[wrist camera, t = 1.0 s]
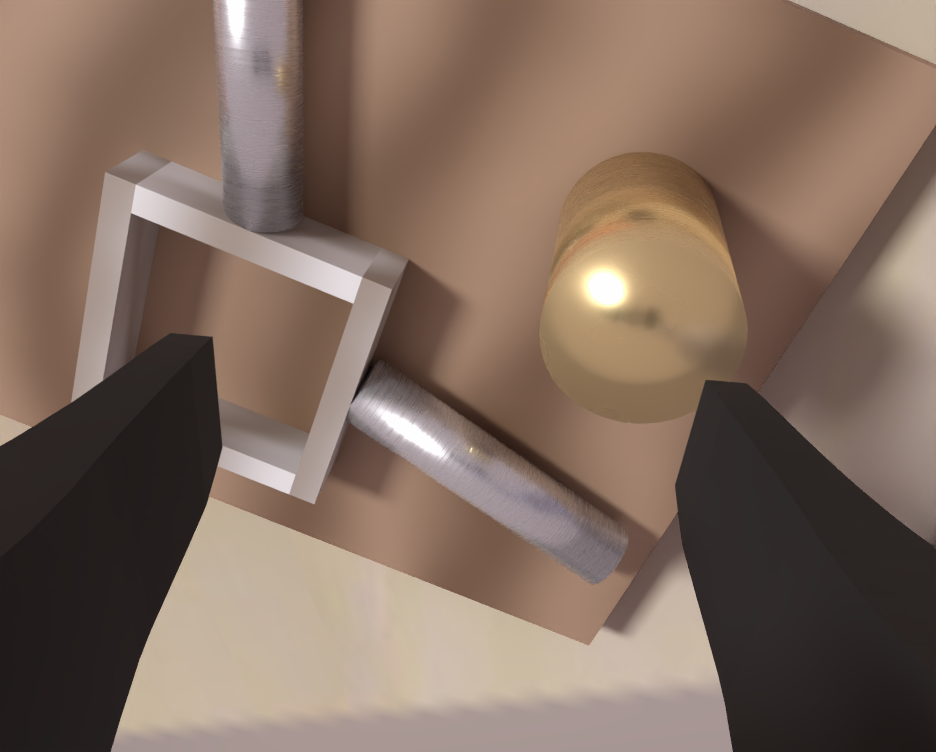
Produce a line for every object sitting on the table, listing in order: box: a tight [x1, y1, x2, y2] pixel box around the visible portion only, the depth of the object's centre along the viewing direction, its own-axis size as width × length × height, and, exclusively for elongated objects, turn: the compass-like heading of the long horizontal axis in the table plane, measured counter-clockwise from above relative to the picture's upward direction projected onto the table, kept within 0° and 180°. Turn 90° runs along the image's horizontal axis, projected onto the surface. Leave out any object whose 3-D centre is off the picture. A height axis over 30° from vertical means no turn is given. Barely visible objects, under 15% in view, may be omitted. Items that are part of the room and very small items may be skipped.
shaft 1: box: [213, 0, 303, 232], centre depth 21 cm, size 8×2×2 cm, turn 174°
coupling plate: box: [0, 0, 936, 645], centre depth 24 cm, size 22×20×4 cm
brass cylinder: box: [539, 152, 748, 424], centre depth 20 cm, size 4×4×6 cm
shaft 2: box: [346, 358, 629, 585], centre depth 26 cm, size 9×2×2 cm, turn 54°
